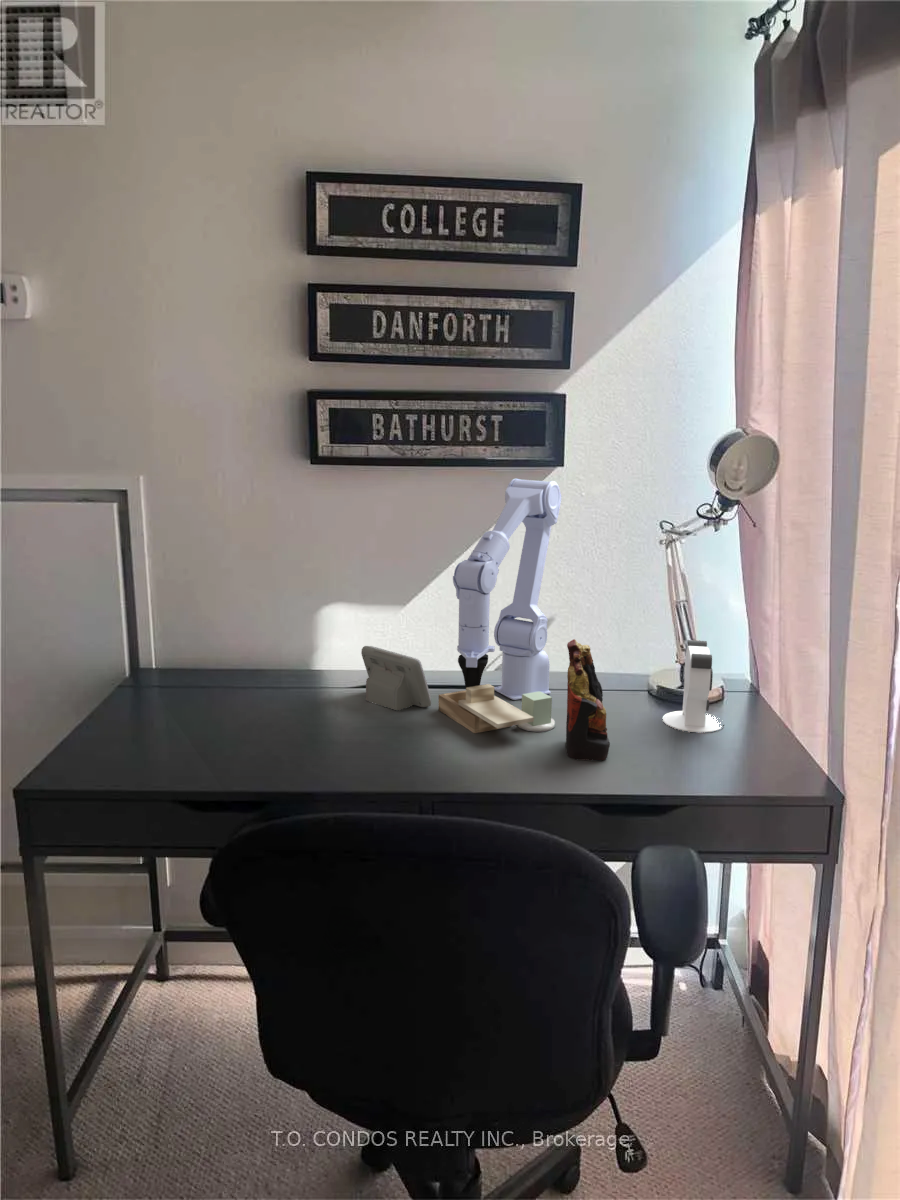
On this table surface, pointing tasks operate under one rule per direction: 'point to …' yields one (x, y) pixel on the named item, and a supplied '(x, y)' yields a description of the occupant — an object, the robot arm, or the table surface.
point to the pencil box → (462, 712)
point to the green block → (537, 707)
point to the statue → (584, 707)
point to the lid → (492, 707)
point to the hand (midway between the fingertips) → (472, 693)
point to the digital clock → (394, 679)
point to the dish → (538, 727)
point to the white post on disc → (695, 692)
